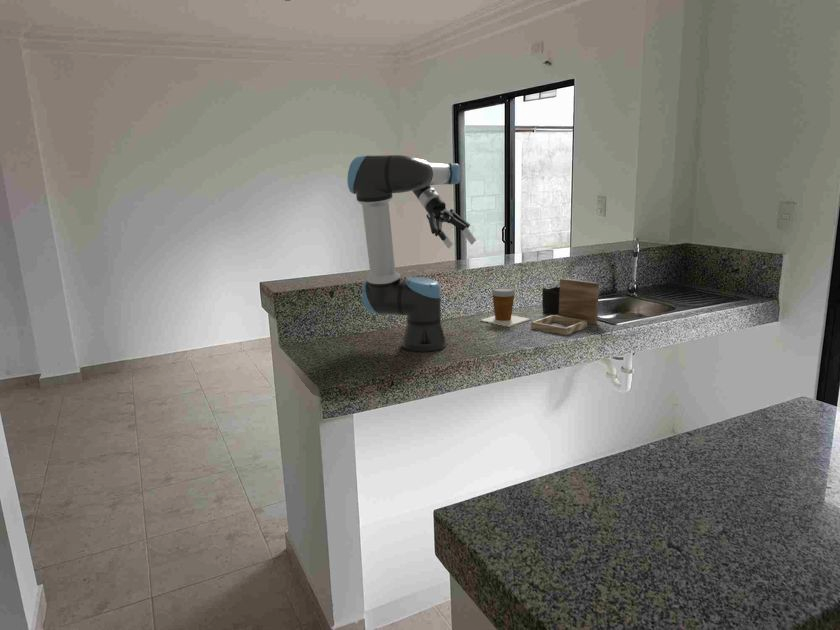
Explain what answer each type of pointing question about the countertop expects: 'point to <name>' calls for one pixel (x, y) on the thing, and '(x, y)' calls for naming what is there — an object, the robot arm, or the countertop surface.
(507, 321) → the mat
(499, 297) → the disposable coffee cup
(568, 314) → the brown wooden l-shaped tray
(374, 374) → the countertop surface
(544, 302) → the pen holder
